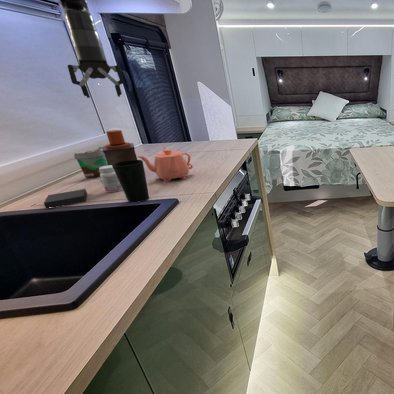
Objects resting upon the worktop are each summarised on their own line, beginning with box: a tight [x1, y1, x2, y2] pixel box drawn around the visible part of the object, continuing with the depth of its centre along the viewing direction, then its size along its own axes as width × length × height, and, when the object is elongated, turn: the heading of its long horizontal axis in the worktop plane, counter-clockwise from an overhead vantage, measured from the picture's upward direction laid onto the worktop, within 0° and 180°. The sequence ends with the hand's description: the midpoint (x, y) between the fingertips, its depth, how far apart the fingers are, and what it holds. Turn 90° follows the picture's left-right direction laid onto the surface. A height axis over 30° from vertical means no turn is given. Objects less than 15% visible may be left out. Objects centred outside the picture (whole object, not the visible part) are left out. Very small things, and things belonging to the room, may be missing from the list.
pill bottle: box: [99, 165, 123, 193], centre depth 99 cm, size 5×5×8 cm
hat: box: [104, 129, 131, 149], centre depth 109 cm, size 8×8×6 cm
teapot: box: [136, 147, 194, 183], centre depth 111 cm, size 14×14×11 cm
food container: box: [73, 146, 108, 179], centre depth 115 cm, size 12×6×10 cm, turn 179°
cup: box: [112, 159, 150, 203], centre depth 90 cm, size 8×8×12 cm
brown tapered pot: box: [102, 142, 138, 165], centre depth 112 cm, size 9×9×12 cm
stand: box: [43, 188, 88, 209], centre depth 91 cm, size 9×8×2 cm
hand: (104, 97), depth 103 cm, fingers open, 8 cm apart
